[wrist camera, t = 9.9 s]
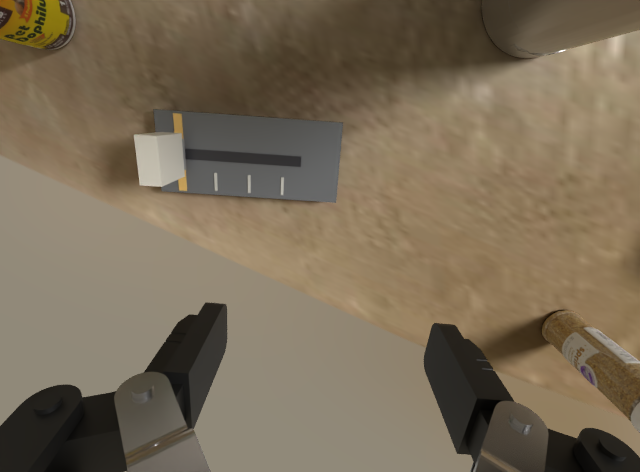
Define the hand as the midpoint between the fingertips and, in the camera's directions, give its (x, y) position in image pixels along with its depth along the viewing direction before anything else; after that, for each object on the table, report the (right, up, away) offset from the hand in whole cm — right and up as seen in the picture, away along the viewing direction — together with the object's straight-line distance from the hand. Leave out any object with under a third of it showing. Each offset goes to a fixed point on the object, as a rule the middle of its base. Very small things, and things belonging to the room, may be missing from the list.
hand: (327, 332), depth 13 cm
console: (-7, +11, +18) cm, 22 cm away
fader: (-13, +11, +16) cm, 23 cm away
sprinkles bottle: (+27, -6, +25) cm, 37 cm away
